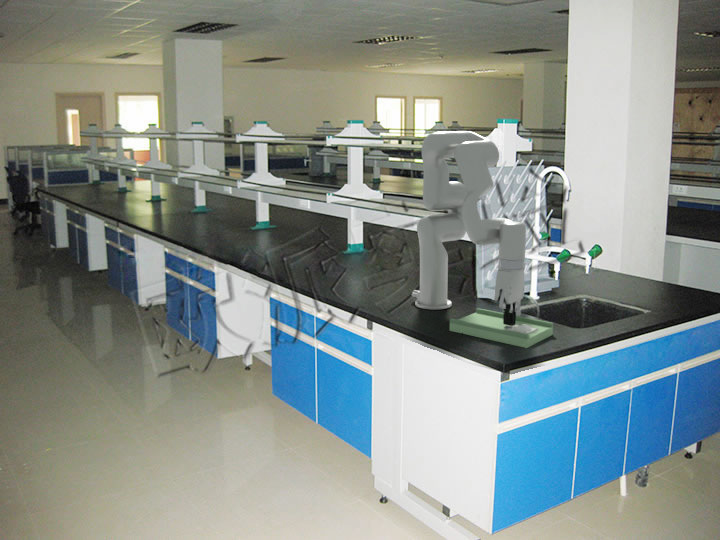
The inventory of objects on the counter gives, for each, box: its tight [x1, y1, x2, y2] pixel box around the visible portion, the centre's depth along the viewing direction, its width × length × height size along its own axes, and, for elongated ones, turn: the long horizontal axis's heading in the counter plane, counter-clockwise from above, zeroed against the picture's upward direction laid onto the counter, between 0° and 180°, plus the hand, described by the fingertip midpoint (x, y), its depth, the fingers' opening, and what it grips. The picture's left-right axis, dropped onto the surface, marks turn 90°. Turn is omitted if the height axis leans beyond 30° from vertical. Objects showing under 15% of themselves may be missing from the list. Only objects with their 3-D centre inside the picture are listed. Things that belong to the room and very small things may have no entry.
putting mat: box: [449, 307, 554, 349], centre depth 208 cm, size 26×16×4 cm, turn 49°
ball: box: [517, 324, 531, 332], centre depth 203 cm, size 4×4×4 cm
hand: (509, 324), depth 206 cm, fingers closed
